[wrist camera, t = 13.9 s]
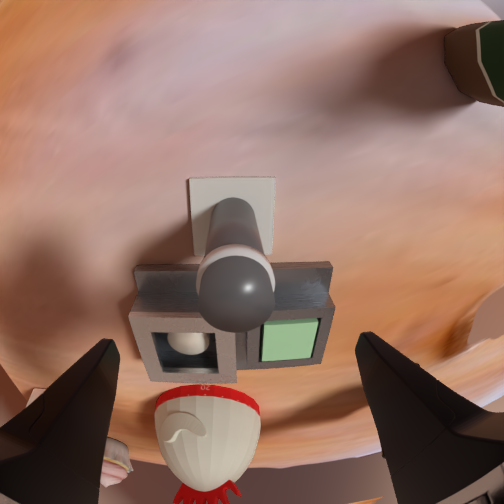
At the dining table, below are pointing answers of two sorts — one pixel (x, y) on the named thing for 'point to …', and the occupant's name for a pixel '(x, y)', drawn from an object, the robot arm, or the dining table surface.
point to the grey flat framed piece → (220, 342)
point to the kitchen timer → (207, 439)
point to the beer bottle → (478, 60)
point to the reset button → (189, 342)
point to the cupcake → (115, 462)
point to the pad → (218, 188)
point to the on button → (287, 339)
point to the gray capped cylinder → (235, 271)
